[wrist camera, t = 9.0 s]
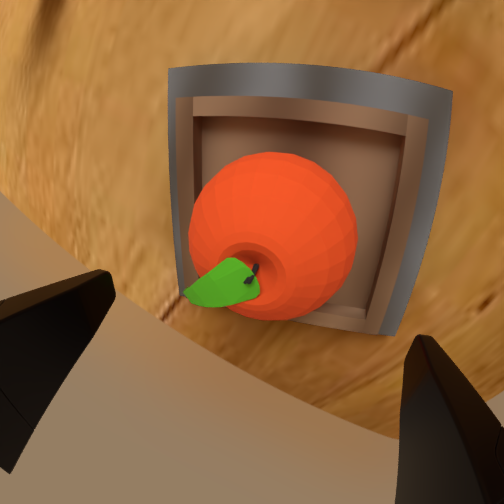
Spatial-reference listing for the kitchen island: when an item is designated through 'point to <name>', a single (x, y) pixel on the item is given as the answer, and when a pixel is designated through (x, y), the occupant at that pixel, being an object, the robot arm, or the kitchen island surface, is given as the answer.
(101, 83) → the kitchen island surface
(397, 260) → the fruit stand
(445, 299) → the kitchen island surface
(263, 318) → the clementine
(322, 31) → the kitchen island surface
